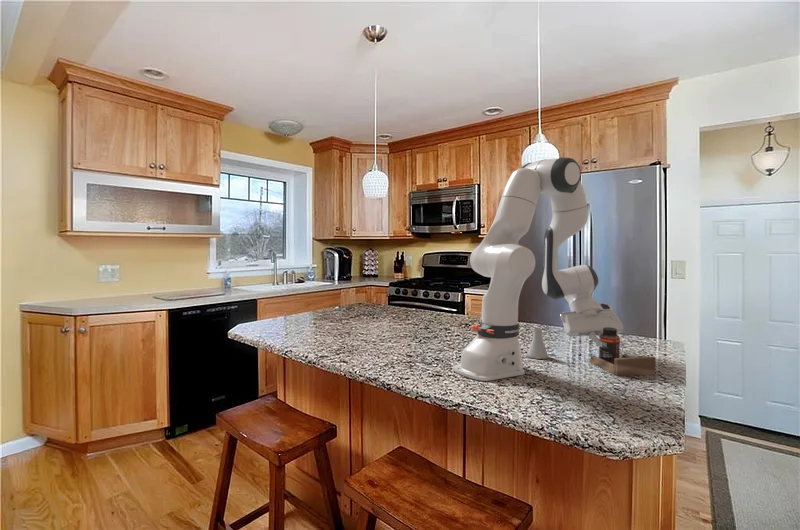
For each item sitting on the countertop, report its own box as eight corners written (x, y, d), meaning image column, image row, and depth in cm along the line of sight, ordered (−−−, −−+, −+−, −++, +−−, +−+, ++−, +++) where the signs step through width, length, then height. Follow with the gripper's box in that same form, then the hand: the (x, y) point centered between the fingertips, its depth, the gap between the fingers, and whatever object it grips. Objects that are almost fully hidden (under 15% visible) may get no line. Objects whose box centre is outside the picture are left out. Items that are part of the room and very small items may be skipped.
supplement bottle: (618, 360, 132) (620, 327, 131) (619, 366, 126) (621, 331, 125) (598, 358, 134) (599, 325, 133) (598, 363, 129) (600, 329, 128)
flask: (550, 360, 133) (550, 330, 132) (527, 359, 134) (528, 330, 134) (546, 354, 140) (547, 326, 139) (525, 353, 141) (525, 325, 141)
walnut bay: (590, 363, 129) (591, 348, 129) (625, 361, 131) (625, 346, 131) (616, 376, 117) (617, 359, 116) (654, 374, 118) (655, 357, 118)
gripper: (562, 306, 138) (577, 341, 129) (615, 305, 141) (634, 339, 132) (555, 317, 143) (569, 351, 134) (606, 315, 146) (624, 348, 137)
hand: (602, 345), depth 133 cm, fingers closed, pressing on supplement bottle
